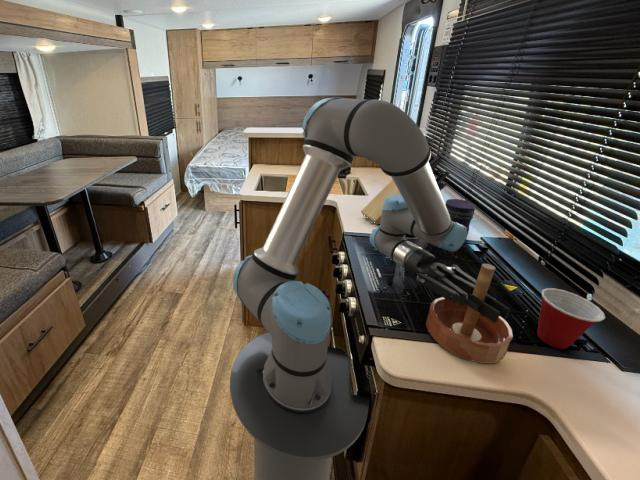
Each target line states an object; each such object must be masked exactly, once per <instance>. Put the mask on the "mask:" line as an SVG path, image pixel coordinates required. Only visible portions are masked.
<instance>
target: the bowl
mask: <svg viewBox="0 0 640 480" xmlns="http://www.w3.org/2000/svg"><path fill="white" fill-rule="evenodd" d="M467 308H468V306H467V305H466V304H465V303H464V306H460V305H459V302H456V303H452V302H450V301H449V300H447V299H445V298H444V297H442V296H440V297H438V298H435V299H434V300H433V301H432V302H431V303H430V306H429V310H428V313H427V317H426V320H425V326H426V329H427V332H428V333H429V335H430V336H431V337H432V339H433V340H434V341H435V342H436V343H438V344H439V345H440V346H441V347H442V348H443V349H445V350H447V351H448V352H451V353H452V354H454V355H455V356H457V357H460V358H463V359H465V360H468V361H472V362H475V363H476V362H477V363H481V364H490V363H491V364H494V363H497V362H499V361H502V360H504V358H505V356H506V355H507V354H508V353H507V352H508V350H509V349H510V346H511V343H512V341H513V339H514V334H513V329H512V327H511V326H510V325H509V323H508V321H507V320H506V319H503V318H502V317H500V316H499V318H498V320H497V322H495V323H494V322H492V321H491V320H489V319H488V318H487V317H485V316H484V315H482V314H481V313H480V314H479V317H478V320H477V322H476V325H475V329H476V330H478V331H479V333H480V334H481V341H480V342H477V341H473V340H470V339H468V338H465V337H462V336H460V335H458V334H457V333H455V332H453V331H451V328H452V325H453V324H454V323H463V320H464V317H465V314H466V311H467Z"/></svg>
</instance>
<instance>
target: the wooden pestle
mask: <svg viewBox="0 0 640 480" xmlns="http://www.w3.org/2000/svg"><path fill="white" fill-rule="evenodd" d="M495 271H496V267H495V266H494V265H492V264H489V263H482V264H481V266H480V269H479V271H478V272H479V273H478V275H477V278H476V280H477V281H476V284H475V287H474V290H473V293H472V294H473V295H474V296H476V297H477V298H479V299H481V300H482V301H484V300H485V297H486V294H488V292H489V291H488V290H489V288H490V286H491V283H492V279H493V276H494V274H495ZM479 314H480V313H479V312H478V311H475V310H473V309H472V308H470V307H469V306H468V308H467V311H466V314H465V317H464V320H463V323H454V324H453V325H452V328H451V331H453V332H455V333H457V334H458V335H460V336H462V337H465V338H468V339H470V340H473V341H477V342H480V341H481V334H480V333H479V331H478V330H476V329H475V325H476V322H477V320H478V317H479Z"/></svg>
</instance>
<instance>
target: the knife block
mask: <svg viewBox="0 0 640 480" xmlns="http://www.w3.org/2000/svg"><path fill="white" fill-rule="evenodd" d="M428 162H429V164H430V167H431V169H432V172H433V175H434V176H436V174H437V173H439V174H438V176H437V177H435V180H436V182H437V185H438V187H439V190H440V191H442V190H443V189H444V188H446V187H447V183H444V182H443V181H444V180H445V179H446V177H448V176H449V175H450V174H451V172H449V171H448V170H446V171H444V172H442V170H440V169H436V167H437V166H438V165H439V164H440V163H441V162H442V158H440V157H439V156H437V157H435V155H434V154H432V153H431V156H430V159H429V161H428ZM390 195H401V194H400V192H399V190H398V188H397V186H396V184H395V183H394V181H393V179H392V178H391V180H390V181H389V182H388V183H387V184H386V186H384V187H383V188H382V190H380V191H379V192H378V193H377V195H375V196H374V197H373V198H372V199H371V200H370V201H369V202H368V204H367V205H366V206H365V207H363V208H362V209H361V210H360V213H361V214H362V216H364V215H365V216H364V217H366V218H367V217H368V218H369V219H368V218H367V219H368V220H369V221H371V220H372V221H371V222H372V223H374V222H375V223H374V224H375V225H377V224H380V222H381V216H382V208H383V205H384V201H385V198H386V197H387V196H390Z"/></svg>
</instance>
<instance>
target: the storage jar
mask: <svg viewBox="0 0 640 480" xmlns="http://www.w3.org/2000/svg"><path fill="white" fill-rule="evenodd" d="M445 205H446V208H447V210H448V213H449V215H450V218H451V220H452V221H453V222H458V223H459V224H461V225H463V226H465V227H466V228H467V236H466V239H465V241H464V243H465V242H466V241H467V238H468V235H469V231H470V224H471V222H472V220H473V218H474V215H475V210H476V207H477V206H476V204H475V203H473V202H471V201H469V200H465V199H459V198H450V199H447V200H446V201H445Z"/></svg>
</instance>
